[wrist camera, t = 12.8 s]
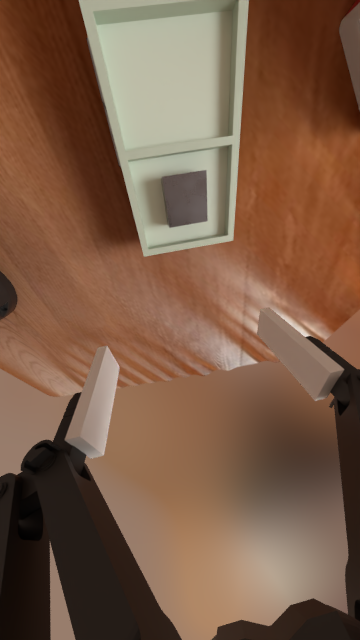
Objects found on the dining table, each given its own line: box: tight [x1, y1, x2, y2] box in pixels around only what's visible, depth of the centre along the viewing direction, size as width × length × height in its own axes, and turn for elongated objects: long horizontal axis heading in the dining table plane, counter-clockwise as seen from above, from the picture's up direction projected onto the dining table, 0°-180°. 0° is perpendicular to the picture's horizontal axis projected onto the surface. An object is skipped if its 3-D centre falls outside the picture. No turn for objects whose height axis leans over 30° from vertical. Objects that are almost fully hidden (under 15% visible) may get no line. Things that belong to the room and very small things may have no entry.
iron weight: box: [161, 170, 208, 228], centre depth 25 cm, size 6×6×3 cm
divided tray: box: [79, 0, 249, 257], centre depth 19 cm, size 16×38×3 cm, turn 8°
